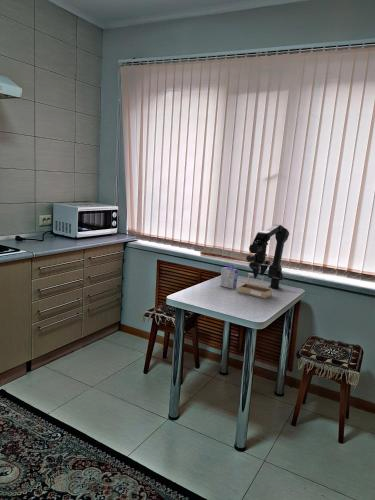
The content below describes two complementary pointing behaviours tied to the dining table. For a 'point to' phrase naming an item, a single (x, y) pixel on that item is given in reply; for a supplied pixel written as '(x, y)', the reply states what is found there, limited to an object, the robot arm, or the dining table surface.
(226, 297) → the dining table surface
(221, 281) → the ink cartridge box
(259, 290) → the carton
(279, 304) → the dining table surface
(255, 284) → the flap
